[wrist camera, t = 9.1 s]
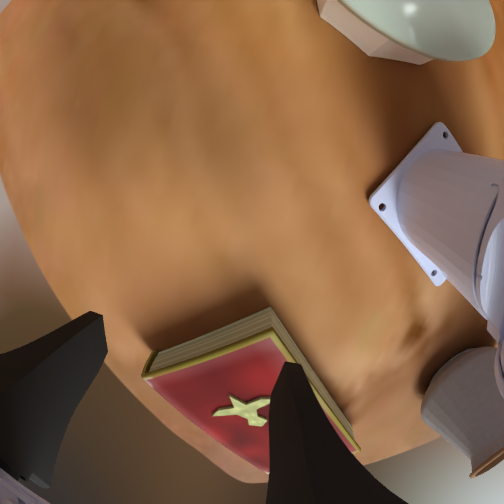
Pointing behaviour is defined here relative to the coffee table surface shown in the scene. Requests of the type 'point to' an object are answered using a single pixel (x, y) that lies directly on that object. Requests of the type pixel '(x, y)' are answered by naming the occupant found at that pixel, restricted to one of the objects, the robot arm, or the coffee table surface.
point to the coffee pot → (468, 407)
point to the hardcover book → (236, 383)
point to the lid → (431, 25)
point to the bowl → (365, 34)
